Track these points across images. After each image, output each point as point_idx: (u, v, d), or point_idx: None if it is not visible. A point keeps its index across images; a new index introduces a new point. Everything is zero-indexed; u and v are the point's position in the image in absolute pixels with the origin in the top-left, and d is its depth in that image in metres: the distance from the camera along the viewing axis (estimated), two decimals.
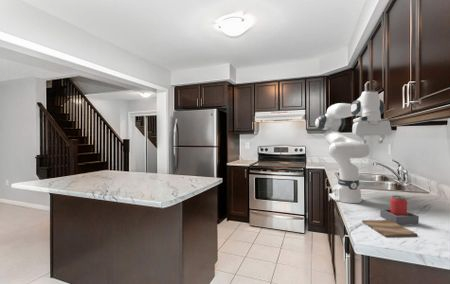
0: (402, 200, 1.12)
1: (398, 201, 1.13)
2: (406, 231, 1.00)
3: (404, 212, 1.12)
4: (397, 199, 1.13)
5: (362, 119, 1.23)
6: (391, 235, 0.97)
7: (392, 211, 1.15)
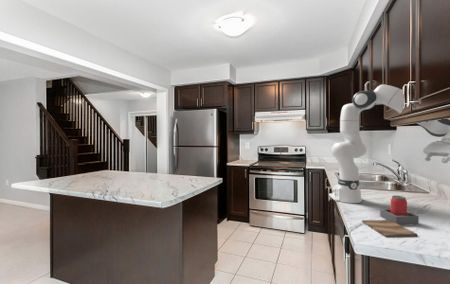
0: (402, 200, 1.12)
1: (398, 201, 1.13)
2: (406, 231, 1.00)
3: (404, 212, 1.12)
4: (397, 199, 1.13)
5: None
6: (391, 235, 0.97)
7: (392, 211, 1.15)
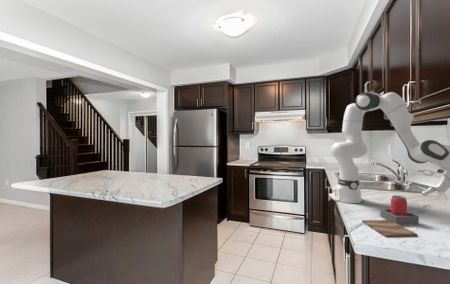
0: (402, 200, 1.12)
1: (398, 201, 1.13)
2: (406, 231, 1.00)
3: (404, 212, 1.12)
4: (397, 199, 1.13)
5: None
6: (391, 235, 0.97)
7: (392, 211, 1.15)
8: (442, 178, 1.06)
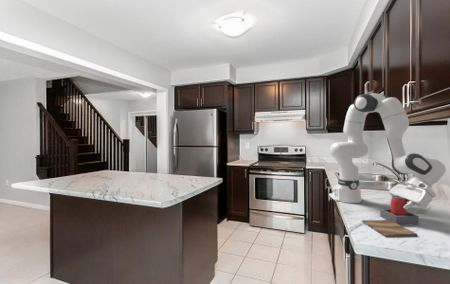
0: (402, 200, 1.12)
1: (398, 201, 1.13)
2: (406, 231, 1.00)
3: (404, 212, 1.12)
4: (397, 199, 1.13)
5: None
6: (391, 235, 0.97)
7: (392, 211, 1.15)
8: (423, 193, 1.06)
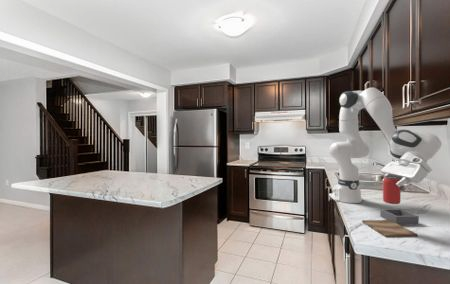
0: (395, 180, 1.03)
1: (391, 181, 1.04)
2: (406, 231, 1.00)
3: (398, 193, 1.03)
4: (389, 179, 1.04)
5: None
6: (391, 235, 0.97)
7: (384, 192, 1.06)
8: (417, 167, 0.97)
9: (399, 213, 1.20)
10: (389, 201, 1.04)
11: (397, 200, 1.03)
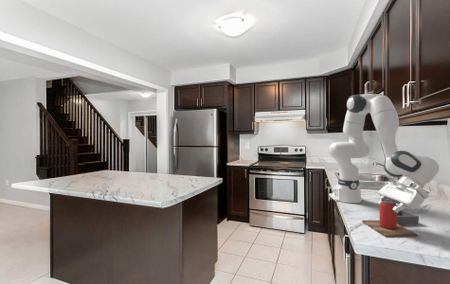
0: (391, 205, 1.02)
1: (387, 206, 1.03)
2: (406, 231, 1.00)
3: (394, 218, 1.02)
4: (386, 203, 1.03)
5: None
6: (391, 235, 0.97)
7: (381, 216, 1.05)
8: (414, 193, 0.96)
9: (399, 213, 1.20)
10: (385, 226, 1.03)
11: (393, 225, 1.02)
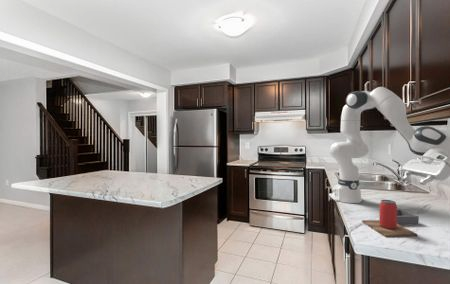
0: (391, 205, 1.02)
1: (387, 206, 1.03)
2: (406, 231, 1.00)
3: (394, 218, 1.02)
4: (386, 203, 1.03)
5: None
6: (391, 235, 0.97)
7: (381, 216, 1.05)
8: (442, 165, 0.96)
9: (399, 213, 1.20)
10: (385, 226, 1.03)
11: (393, 225, 1.02)
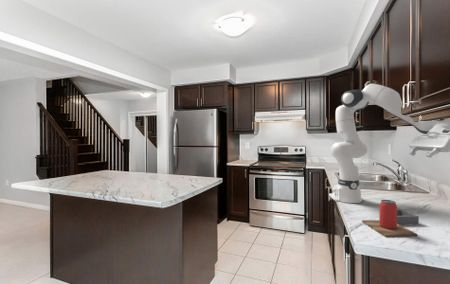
0: (391, 205, 1.02)
1: (387, 206, 1.03)
2: (406, 231, 1.00)
3: (394, 218, 1.02)
4: (386, 203, 1.03)
5: None
6: (391, 235, 0.97)
7: (381, 216, 1.05)
8: (447, 138, 1.03)
9: (399, 213, 1.20)
10: (385, 226, 1.03)
11: (393, 225, 1.02)
